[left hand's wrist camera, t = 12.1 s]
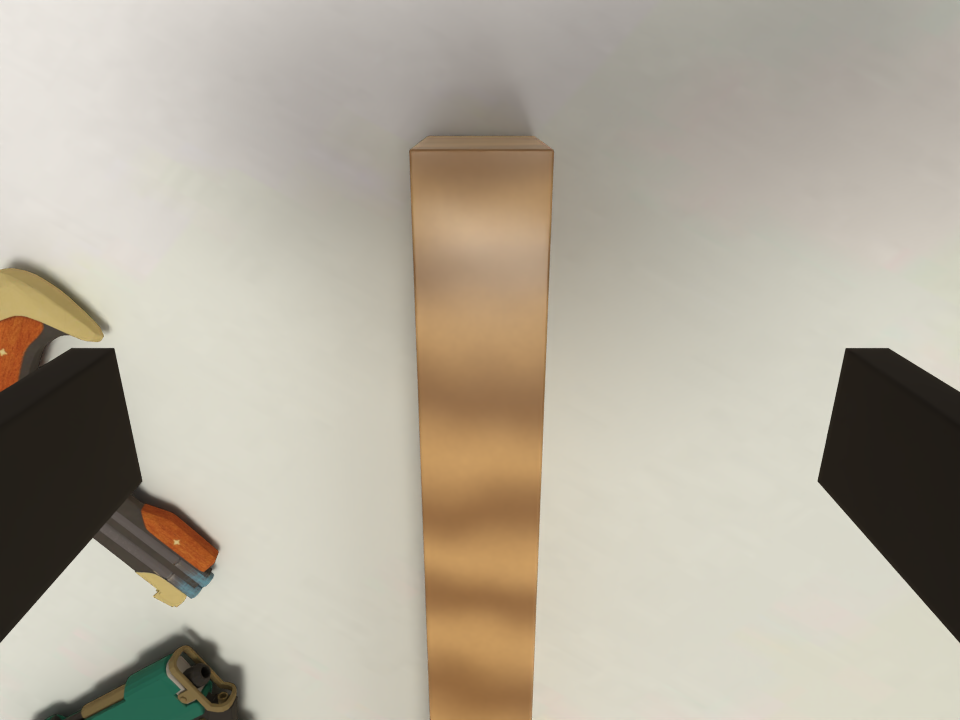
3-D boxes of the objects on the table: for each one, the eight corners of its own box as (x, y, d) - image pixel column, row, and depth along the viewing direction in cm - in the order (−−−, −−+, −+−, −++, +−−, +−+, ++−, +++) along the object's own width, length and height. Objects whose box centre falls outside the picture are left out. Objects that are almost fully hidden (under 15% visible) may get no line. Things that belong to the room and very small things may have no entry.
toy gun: (-2, 261, 30) (-147, 398, 32) (298, 519, 37) (169, 624, 38) (27, 250, 33) (-108, 377, 34) (304, 493, 40) (183, 592, 41)
